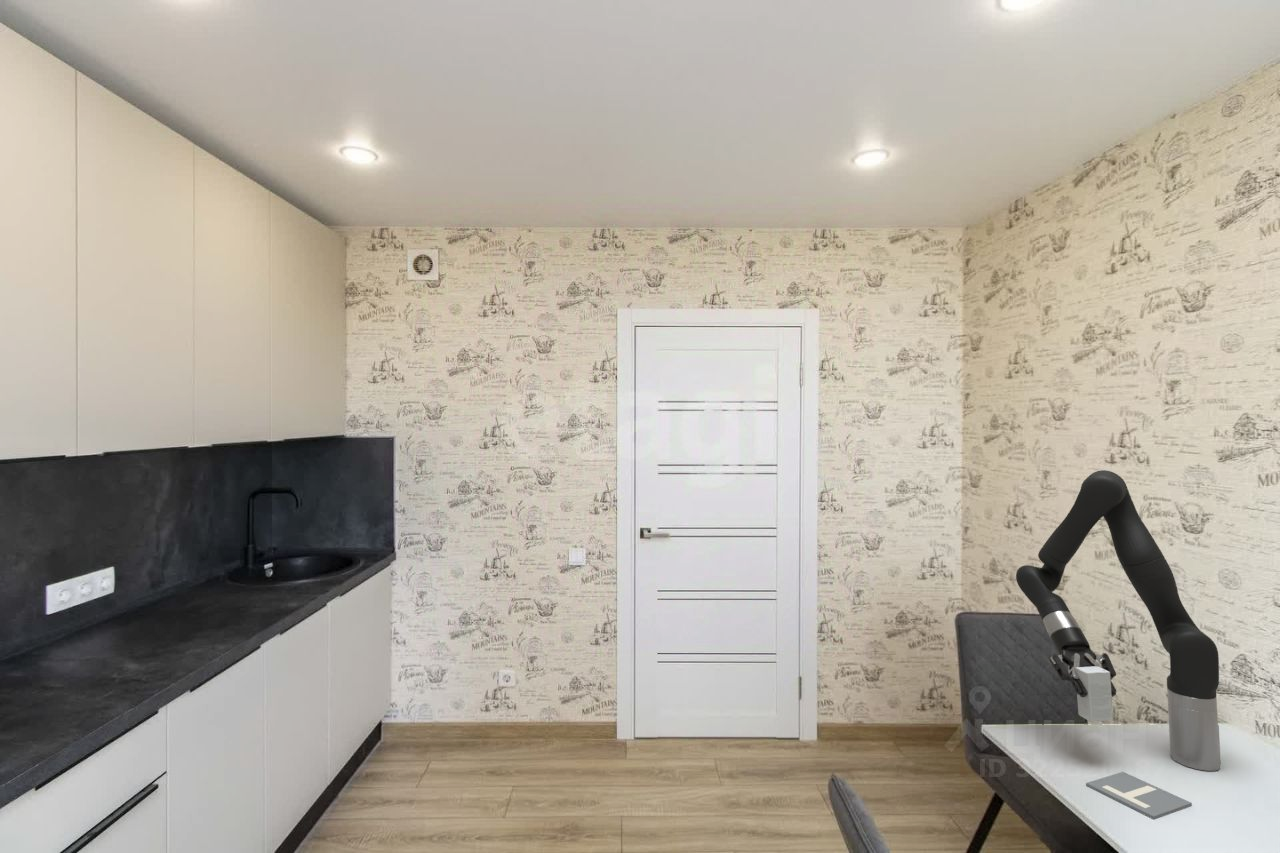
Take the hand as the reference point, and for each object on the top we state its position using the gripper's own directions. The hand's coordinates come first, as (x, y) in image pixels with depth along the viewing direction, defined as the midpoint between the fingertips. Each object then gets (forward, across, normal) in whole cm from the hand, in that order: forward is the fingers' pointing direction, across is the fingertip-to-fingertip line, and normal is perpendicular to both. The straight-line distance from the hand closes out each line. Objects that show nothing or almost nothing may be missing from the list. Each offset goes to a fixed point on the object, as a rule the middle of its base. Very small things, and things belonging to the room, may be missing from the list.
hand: (1098, 695), depth 151 cm
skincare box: (+3, 0, +6) cm, 7 cm away
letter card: (+21, 0, +4) cm, 21 cm away
